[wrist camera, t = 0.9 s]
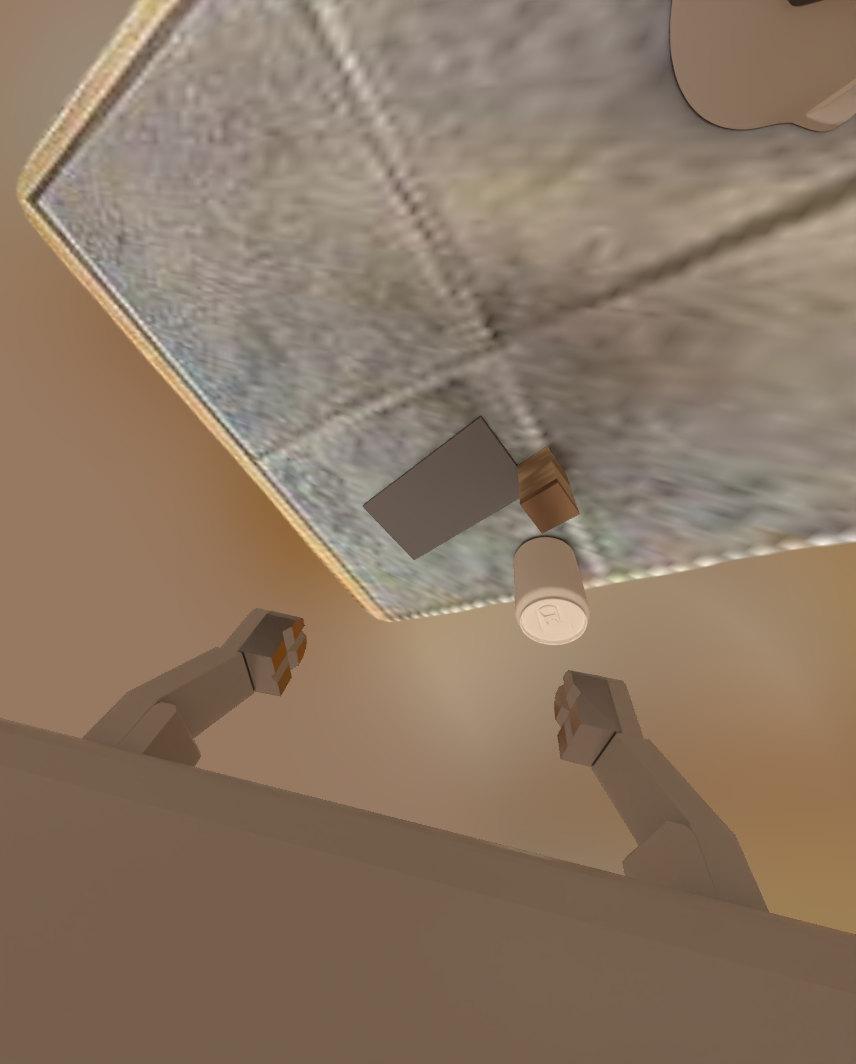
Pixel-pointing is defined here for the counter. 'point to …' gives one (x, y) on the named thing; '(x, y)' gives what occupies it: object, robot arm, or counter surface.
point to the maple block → (545, 491)
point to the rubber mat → (447, 491)
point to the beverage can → (549, 592)
